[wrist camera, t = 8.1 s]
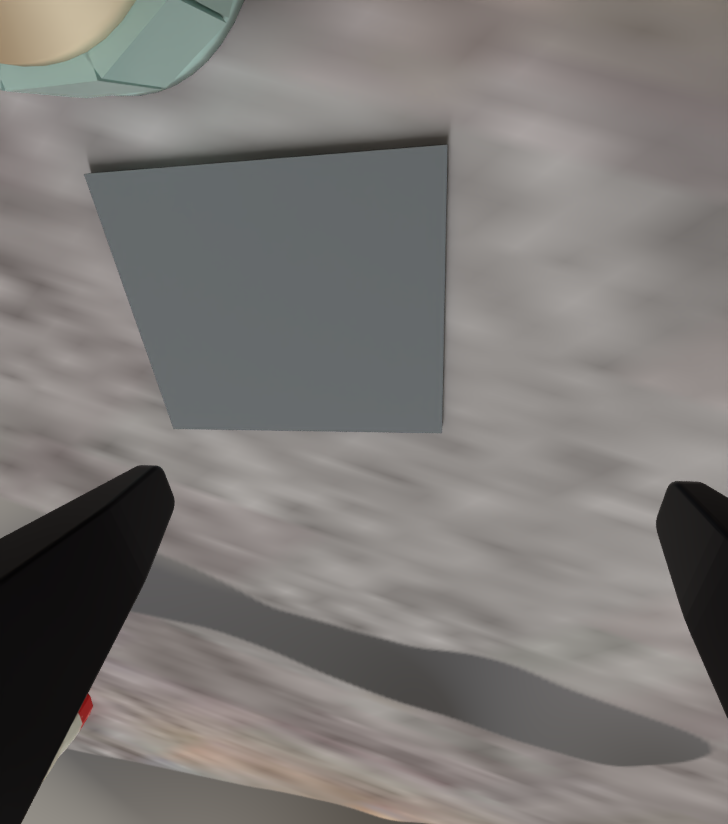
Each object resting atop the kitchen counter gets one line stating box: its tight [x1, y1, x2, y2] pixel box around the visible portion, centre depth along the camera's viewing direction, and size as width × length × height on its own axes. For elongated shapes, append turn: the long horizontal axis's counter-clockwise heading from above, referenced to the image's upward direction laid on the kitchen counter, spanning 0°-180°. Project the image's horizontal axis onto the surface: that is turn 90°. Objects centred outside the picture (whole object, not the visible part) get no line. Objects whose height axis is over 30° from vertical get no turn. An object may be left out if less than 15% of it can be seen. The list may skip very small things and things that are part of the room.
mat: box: [84, 144, 447, 433], centre depth 20 cm, size 14×12×1 cm
